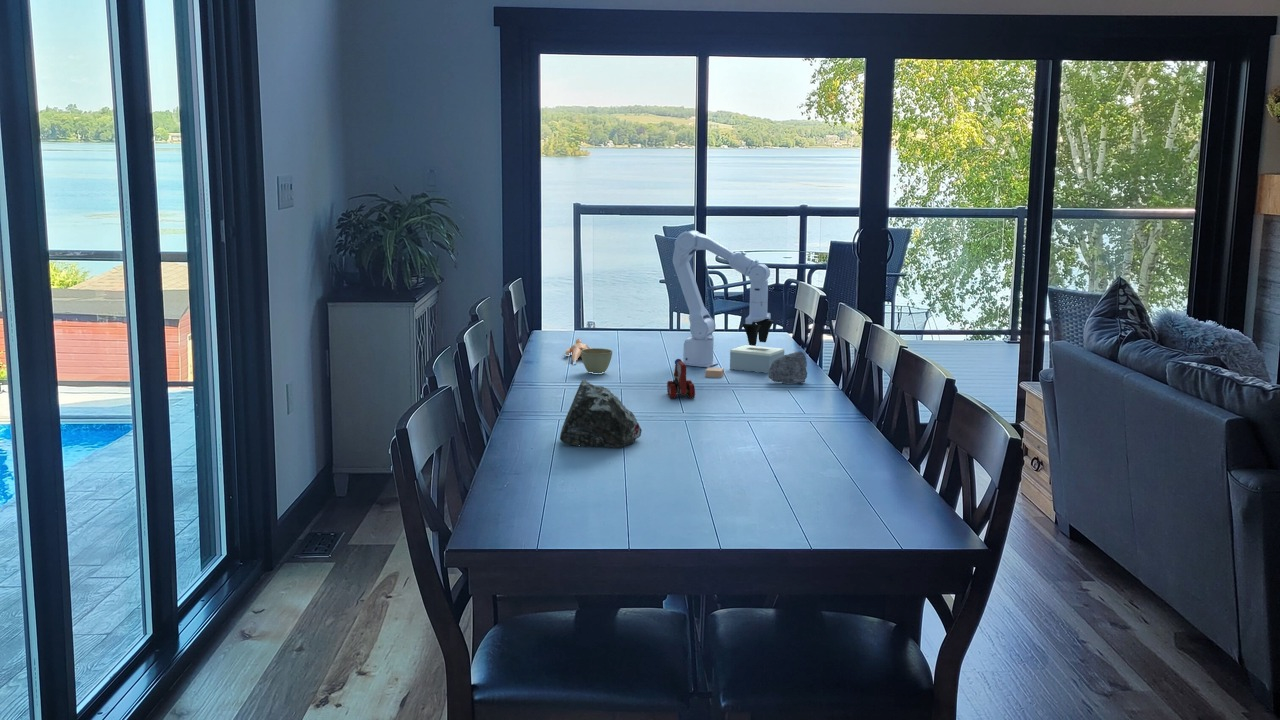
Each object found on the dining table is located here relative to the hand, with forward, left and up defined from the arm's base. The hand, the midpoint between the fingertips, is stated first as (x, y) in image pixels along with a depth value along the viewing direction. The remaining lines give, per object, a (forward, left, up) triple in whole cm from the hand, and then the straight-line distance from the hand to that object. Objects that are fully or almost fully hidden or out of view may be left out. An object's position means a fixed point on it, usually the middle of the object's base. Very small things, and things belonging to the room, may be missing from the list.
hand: (757, 343), depth 350 cm
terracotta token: (-6, -18, -9) cm, 21 cm away
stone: (+9, -108, -8) cm, 108 cm away
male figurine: (-59, -15, -9) cm, 61 cm away
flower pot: (-39, -35, -8) cm, 53 cm away
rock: (+18, -16, -8) cm, 26 cm away
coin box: (0, 0, -8) cm, 8 cm away
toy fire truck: (0, -50, -8) cm, 51 cm away
